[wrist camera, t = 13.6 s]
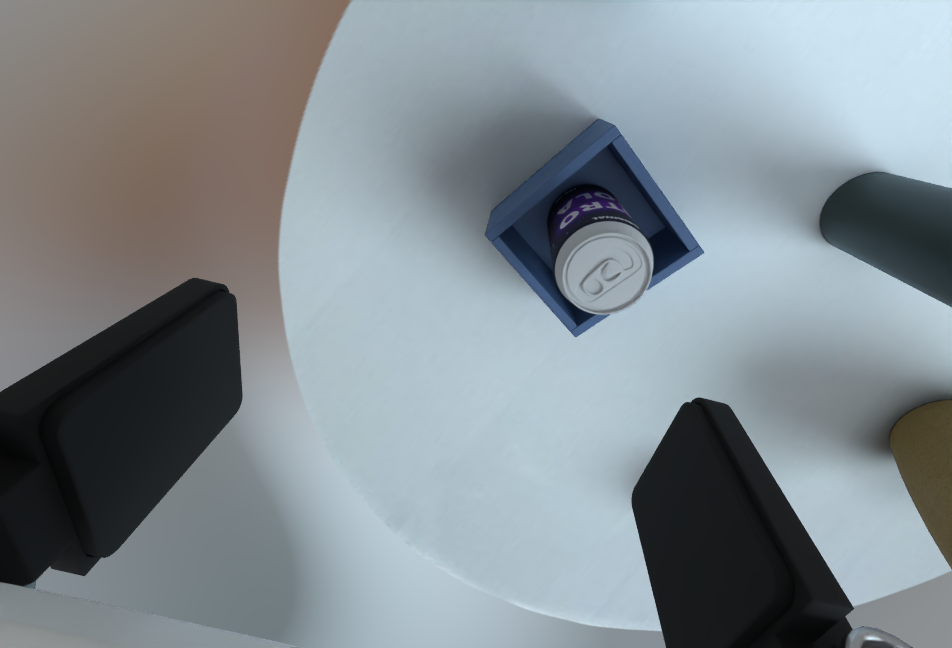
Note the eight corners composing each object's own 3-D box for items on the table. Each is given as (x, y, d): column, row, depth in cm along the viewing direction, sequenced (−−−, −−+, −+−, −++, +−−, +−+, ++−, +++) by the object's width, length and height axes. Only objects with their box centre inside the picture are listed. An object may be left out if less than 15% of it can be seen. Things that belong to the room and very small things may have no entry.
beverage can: (635, 214, 35) (682, 271, 24) (582, 266, 37) (604, 338, 27) (583, 166, 33) (608, 202, 23) (531, 223, 36) (533, 280, 25)
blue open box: (491, 211, 36) (484, 234, 30) (599, 117, 32) (614, 124, 27) (568, 300, 39) (575, 338, 34) (675, 225, 35) (704, 252, 30)
